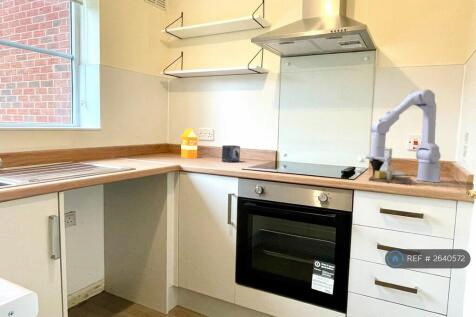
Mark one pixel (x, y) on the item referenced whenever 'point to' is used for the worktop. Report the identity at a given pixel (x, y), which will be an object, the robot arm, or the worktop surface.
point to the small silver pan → (382, 173)
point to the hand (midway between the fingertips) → (375, 175)
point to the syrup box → (389, 155)
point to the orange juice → (189, 144)
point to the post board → (392, 179)
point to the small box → (230, 153)
